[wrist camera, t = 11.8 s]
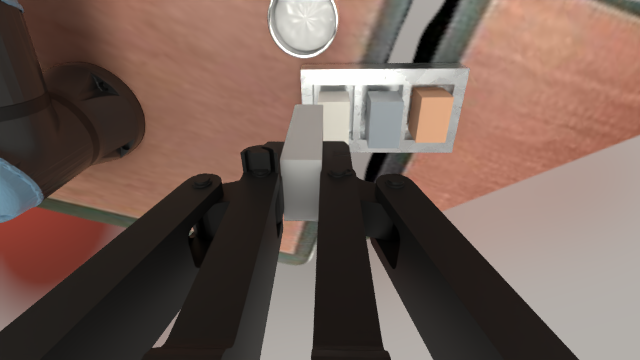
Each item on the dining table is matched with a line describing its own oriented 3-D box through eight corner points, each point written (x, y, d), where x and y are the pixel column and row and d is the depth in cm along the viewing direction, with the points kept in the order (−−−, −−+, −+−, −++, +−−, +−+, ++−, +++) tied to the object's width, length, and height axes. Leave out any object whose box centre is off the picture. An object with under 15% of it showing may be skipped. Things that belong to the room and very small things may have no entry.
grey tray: (305, 141, 51) (304, 152, 48) (302, 63, 45) (300, 69, 42) (443, 141, 51) (451, 152, 47) (459, 62, 45) (469, 68, 41)
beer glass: (344, 30, 43) (350, 46, 30) (297, 48, 44) (282, 71, 31) (328, -27, 40) (326, -38, 27) (277, -6, 41) (252, -6, 28)
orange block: (407, 129, 48) (415, 142, 43) (413, 87, 44) (422, 97, 40) (434, 129, 47) (445, 142, 43) (442, 87, 44) (454, 97, 40)
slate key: (364, 133, 46) (368, 148, 42) (367, 91, 43) (371, 102, 39) (392, 133, 46) (398, 148, 42) (397, 91, 43) (404, 101, 39)
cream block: (319, 133, 47) (318, 148, 42) (318, 91, 43) (317, 102, 39) (347, 133, 46) (348, 148, 42) (348, 91, 43) (350, 101, 39)
